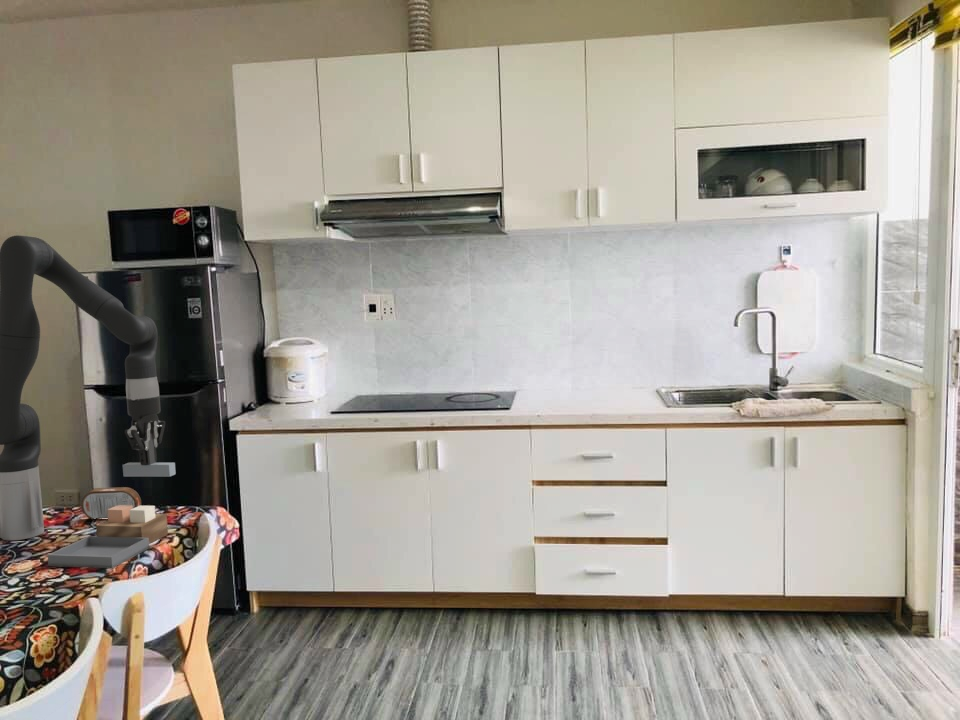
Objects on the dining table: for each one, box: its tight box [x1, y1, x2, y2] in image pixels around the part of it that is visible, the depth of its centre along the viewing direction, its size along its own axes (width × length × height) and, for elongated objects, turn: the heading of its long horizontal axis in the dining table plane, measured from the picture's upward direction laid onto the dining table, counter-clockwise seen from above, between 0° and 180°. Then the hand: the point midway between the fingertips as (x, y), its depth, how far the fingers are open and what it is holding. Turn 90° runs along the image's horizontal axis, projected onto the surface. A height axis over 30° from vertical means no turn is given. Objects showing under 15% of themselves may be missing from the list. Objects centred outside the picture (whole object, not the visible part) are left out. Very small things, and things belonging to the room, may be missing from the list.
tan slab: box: [95, 513, 169, 545], centre depth 181 cm, size 12×10×5 cm
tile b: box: [129, 504, 156, 523], centre depth 180 cm, size 4×4×3 cm
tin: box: [81, 486, 142, 520], centre depth 200 cm, size 15×3×8 cm, turn 92°
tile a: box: [107, 505, 133, 522], centre depth 181 cm, size 4×4×3 cm
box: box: [47, 535, 150, 569], centre depth 170 cm, size 16×13×2 cm
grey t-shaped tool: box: [122, 433, 177, 478], centre depth 188 cm, size 13×2×11 cm, turn 79°
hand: (148, 463), depth 188 cm, fingers closed on grey t-shaped tool, 2 cm apart
